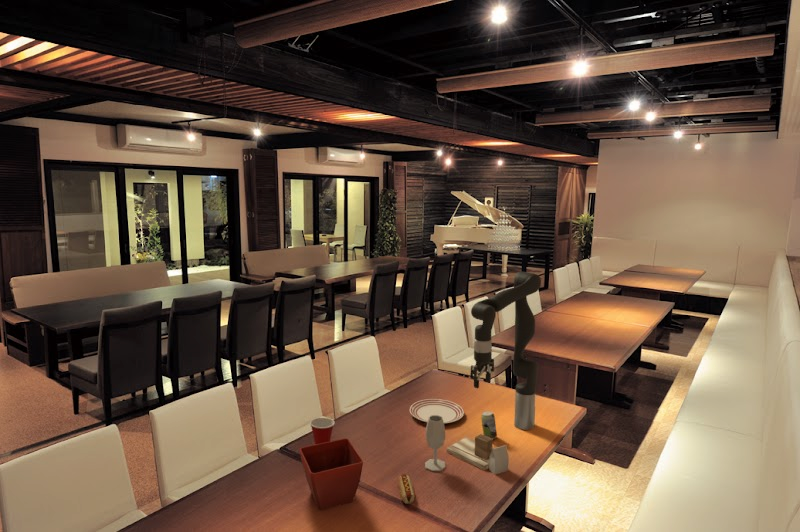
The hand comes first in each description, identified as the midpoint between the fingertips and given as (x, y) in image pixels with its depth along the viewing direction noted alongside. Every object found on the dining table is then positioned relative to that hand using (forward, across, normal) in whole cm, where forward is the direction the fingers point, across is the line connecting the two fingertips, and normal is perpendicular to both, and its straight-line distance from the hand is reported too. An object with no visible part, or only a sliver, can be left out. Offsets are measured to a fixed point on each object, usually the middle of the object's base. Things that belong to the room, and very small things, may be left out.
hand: (482, 384), depth 214 cm
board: (+28, +9, +3) cm, 30 cm away
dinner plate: (+29, -9, -34) cm, 45 cm away
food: (+28, +50, +2) cm, 57 cm away
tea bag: (+28, +12, +17) cm, 35 cm away
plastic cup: (+28, +51, -48) cm, 76 cm away
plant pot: (+27, +70, -17) cm, 77 cm away
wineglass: (+28, +28, -3) cm, 40 cm away
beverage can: (+29, -8, -2) cm, 30 cm away
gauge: (+26, +10, +8) cm, 29 cm away
